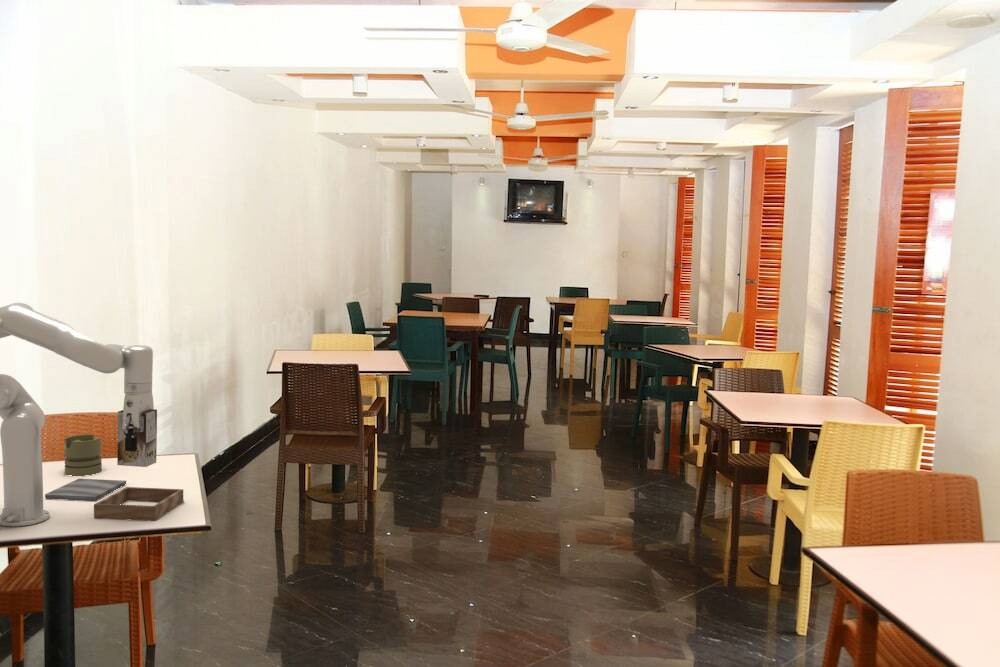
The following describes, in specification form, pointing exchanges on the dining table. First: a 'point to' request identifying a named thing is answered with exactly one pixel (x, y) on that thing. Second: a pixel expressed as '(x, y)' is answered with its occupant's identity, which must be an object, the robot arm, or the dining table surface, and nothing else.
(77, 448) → the piston
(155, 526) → the dining table surface
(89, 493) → the serving board
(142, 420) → the coffee box
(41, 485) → the robot arm
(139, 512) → the wooden frame
